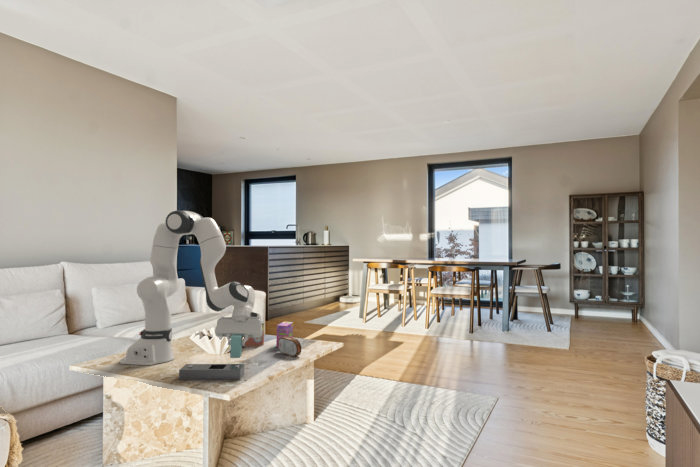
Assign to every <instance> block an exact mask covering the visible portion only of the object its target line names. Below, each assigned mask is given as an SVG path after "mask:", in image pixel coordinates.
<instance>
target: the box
mask: <svg viewBox="0 0 700 467" xmlns="http://www.w3.org/2000/svg"><path fill="white" fill-rule="evenodd" d="M293 334H294V322H293V321H283V322H281V323H279V324H277V325H276V339H275V340H276V347H275V348H277V349H279V347H278V341H279V339H280V338H281V337H284V336H287V337H291V338H294V335H293Z"/></svg>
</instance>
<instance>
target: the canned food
mask: <svg viewBox="0 0 700 467" xmlns="http://www.w3.org/2000/svg"><path fill="white" fill-rule="evenodd" d="M261 324H262V336H261V337H260V338H251V337H249V338H248V340H247V341H246V342H245V345H244V346H243V347H244V348H259V346H260V347H263V346H265V321H264V320H261ZM244 338H245V337H244ZM242 340H244V339H243V338H242Z"/></svg>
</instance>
